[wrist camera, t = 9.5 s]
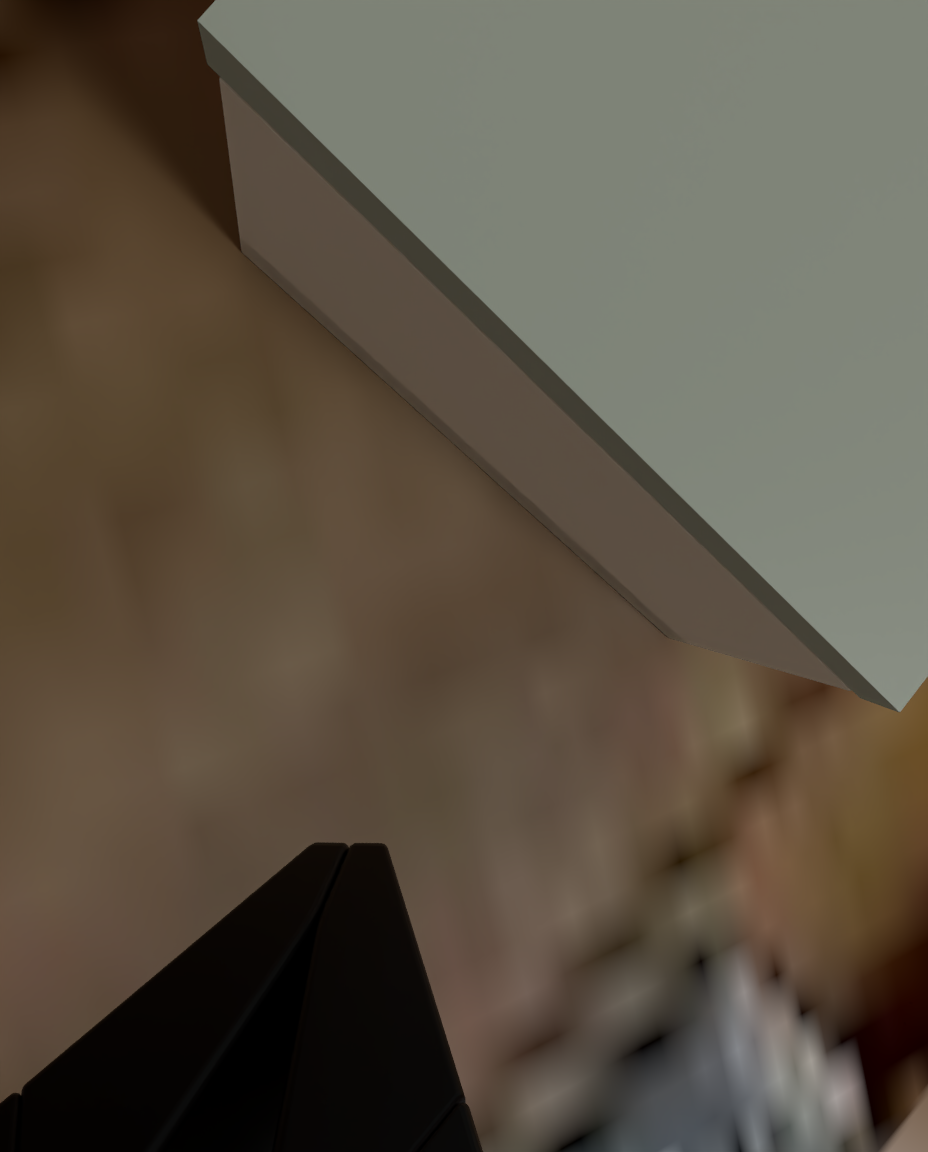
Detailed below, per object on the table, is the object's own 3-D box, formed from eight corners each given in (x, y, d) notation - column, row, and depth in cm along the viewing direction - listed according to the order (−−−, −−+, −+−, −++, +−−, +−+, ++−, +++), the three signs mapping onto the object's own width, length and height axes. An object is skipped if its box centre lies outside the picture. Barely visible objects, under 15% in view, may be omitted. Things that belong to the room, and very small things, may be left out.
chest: (668, 638, 21) (850, 690, 15) (241, 252, 17) (219, 78, 11) (884, 348, 23) (1143, 273, 16) (533, -72, 19) (678, -410, 12)
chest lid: (859, 697, 14) (899, 712, 14) (207, 64, 10) (196, 20, 9) (1201, 254, 15) (1263, 238, 14) (713, -504, 11) (751, -597, 10)
